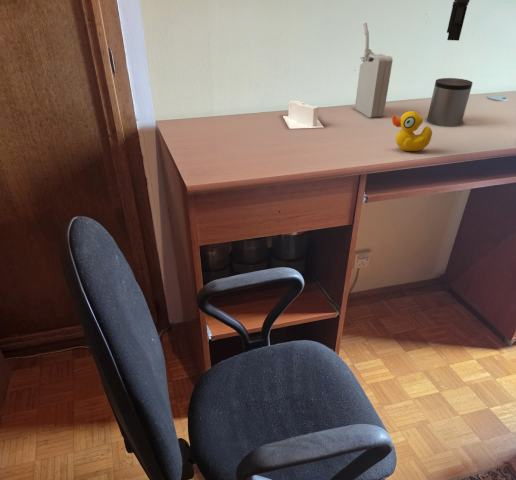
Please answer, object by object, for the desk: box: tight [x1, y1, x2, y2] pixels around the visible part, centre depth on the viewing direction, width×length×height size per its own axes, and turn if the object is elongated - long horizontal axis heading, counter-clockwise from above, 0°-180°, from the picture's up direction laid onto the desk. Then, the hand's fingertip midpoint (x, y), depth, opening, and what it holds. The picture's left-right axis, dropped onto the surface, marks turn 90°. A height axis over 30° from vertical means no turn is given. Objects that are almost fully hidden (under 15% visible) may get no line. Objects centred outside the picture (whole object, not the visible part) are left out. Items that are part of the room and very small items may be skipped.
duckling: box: [391, 110, 433, 152], centre depth 124 cm, size 11×5×10 cm, turn 75°
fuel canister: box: [354, 22, 394, 119], centre depth 150 cm, size 15×5×25 cm, turn 16°
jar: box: [426, 77, 473, 127], centre depth 145 cm, size 11×11×12 cm
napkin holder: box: [282, 99, 324, 130], centre depth 147 cm, size 15×11×6 cm
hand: (452, 36), depth 114 cm, fingers open, 13 cm apart
